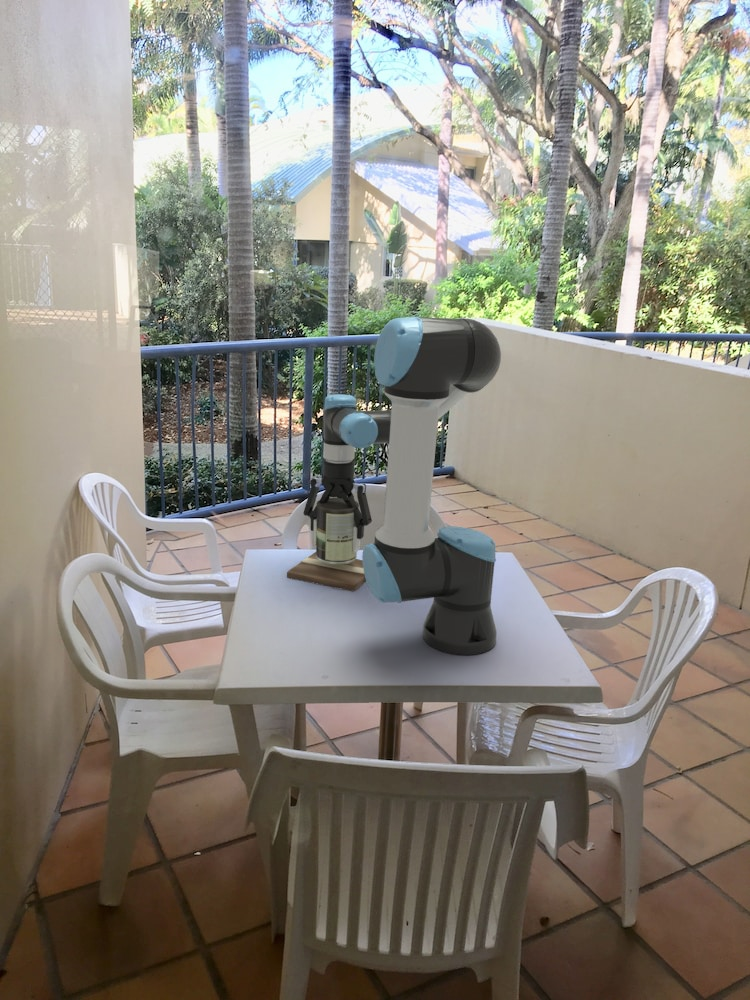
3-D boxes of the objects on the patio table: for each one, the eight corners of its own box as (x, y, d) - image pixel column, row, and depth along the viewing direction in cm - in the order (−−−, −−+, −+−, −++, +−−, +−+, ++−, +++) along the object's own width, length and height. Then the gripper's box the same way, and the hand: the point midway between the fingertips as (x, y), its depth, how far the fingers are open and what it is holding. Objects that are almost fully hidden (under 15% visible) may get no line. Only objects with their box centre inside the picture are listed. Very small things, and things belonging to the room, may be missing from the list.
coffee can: (307, 559, 183) (308, 504, 179) (330, 547, 192) (331, 495, 188) (342, 568, 178) (344, 512, 174) (364, 555, 187) (366, 502, 183)
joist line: (366, 574, 181) (366, 573, 181) (301, 561, 188) (301, 561, 188) (371, 570, 184) (371, 569, 184) (306, 558, 190) (306, 557, 190)
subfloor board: (354, 591, 175) (354, 585, 175) (286, 577, 181) (286, 571, 181) (379, 568, 189) (379, 563, 189) (316, 556, 196) (316, 551, 195)
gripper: (388, 462, 177) (384, 549, 184) (303, 451, 185) (302, 535, 192) (376, 469, 171) (372, 559, 177) (289, 457, 179) (288, 544, 185)
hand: (336, 546), depth 184 cm, fingers closed on coffee can, 10 cm apart
